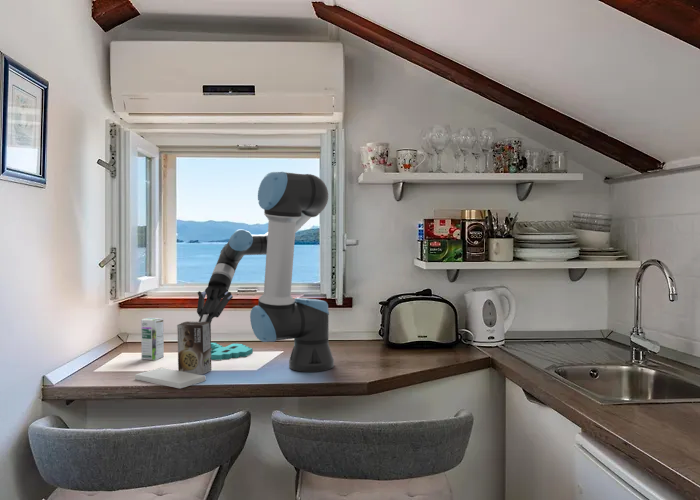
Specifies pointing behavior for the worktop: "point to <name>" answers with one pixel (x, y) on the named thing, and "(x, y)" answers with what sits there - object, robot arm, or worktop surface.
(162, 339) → the syrup box
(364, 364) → the worktop surface
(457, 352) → the worktop surface
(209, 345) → the coffee box
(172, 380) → the board
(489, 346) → the worktop surface
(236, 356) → the alien figure
